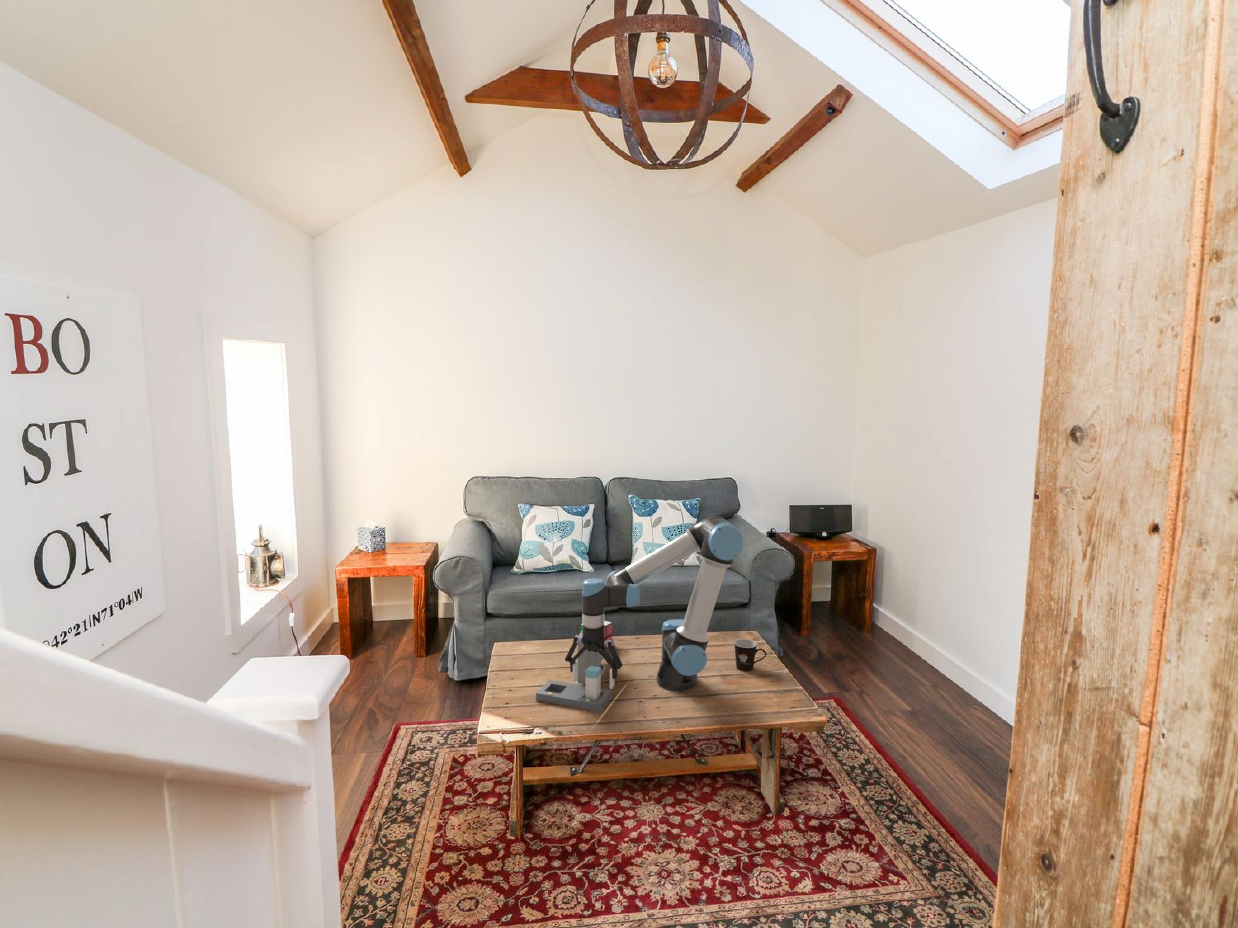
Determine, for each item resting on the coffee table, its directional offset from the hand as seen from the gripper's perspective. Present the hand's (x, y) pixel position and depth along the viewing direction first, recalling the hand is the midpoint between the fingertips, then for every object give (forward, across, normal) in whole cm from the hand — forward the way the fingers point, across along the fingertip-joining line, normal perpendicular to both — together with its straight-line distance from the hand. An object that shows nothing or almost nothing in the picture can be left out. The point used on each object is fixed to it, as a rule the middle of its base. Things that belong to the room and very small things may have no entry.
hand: (593, 684), depth 230 cm
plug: (+6, 0, 0) cm, 7 cm away
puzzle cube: (+7, +17, -46) cm, 50 cm away
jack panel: (+7, +7, 0) cm, 10 cm away
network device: (+7, +9, -20) cm, 24 cm away
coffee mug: (+8, -46, -46) cm, 66 cm away
